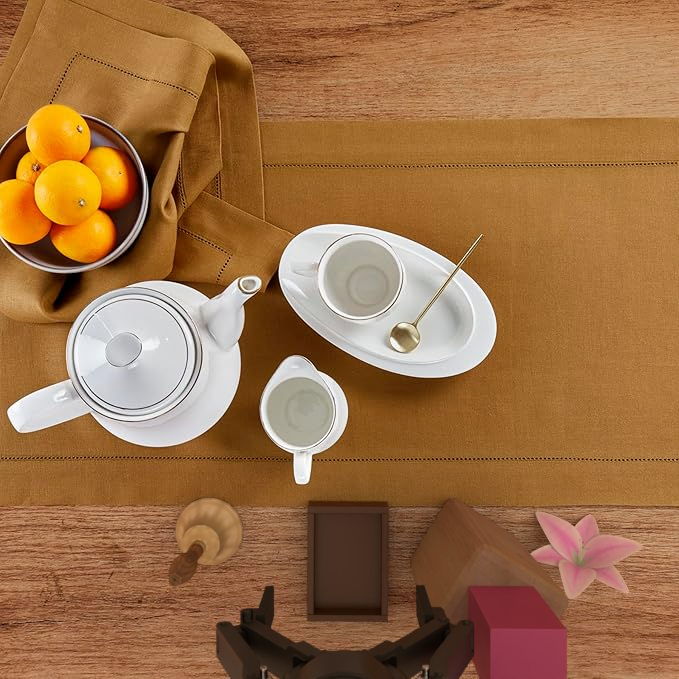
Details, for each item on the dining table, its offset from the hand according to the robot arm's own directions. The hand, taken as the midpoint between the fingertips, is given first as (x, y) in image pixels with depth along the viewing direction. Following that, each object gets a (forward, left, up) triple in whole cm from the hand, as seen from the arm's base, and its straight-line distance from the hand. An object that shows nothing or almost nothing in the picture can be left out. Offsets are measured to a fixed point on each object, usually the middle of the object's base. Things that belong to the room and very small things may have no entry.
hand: (345, 600), depth 59 cm
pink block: (-2, -14, -1) cm, 14 cm away
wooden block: (-2, -14, -21) cm, 25 cm away
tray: (-3, 0, -21) cm, 21 cm away
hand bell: (0, +17, -21) cm, 27 cm away
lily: (-1, -27, -21) cm, 34 cm away
